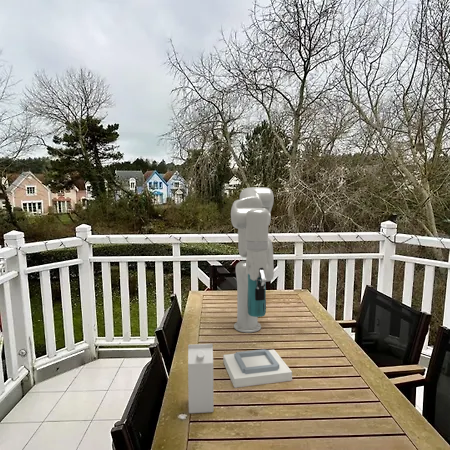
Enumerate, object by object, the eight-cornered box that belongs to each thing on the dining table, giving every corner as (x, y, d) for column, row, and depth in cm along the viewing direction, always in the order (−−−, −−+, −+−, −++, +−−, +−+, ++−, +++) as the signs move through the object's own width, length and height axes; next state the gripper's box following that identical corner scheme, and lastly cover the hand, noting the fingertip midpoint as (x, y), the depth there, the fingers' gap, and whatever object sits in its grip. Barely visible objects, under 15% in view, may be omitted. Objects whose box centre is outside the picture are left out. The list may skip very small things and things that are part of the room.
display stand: (223, 362, 129) (223, 350, 129) (274, 357, 133) (274, 345, 133) (234, 387, 112) (234, 374, 112) (292, 380, 117) (292, 367, 116)
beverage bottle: (265, 322, 117) (265, 263, 115) (245, 320, 118) (246, 262, 116) (266, 315, 123) (267, 259, 121) (248, 314, 125) (248, 259, 123)
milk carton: (189, 399, 106) (188, 339, 105) (212, 398, 107) (212, 338, 105) (188, 414, 99) (187, 350, 97) (213, 412, 100) (213, 349, 98)
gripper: (239, 242, 126) (239, 290, 128) (254, 250, 109) (253, 305, 111) (259, 241, 128) (259, 289, 129) (276, 249, 111) (275, 303, 112)
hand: (256, 296), depth 120 cm, fingers closed on beverage bottle, 6 cm apart
